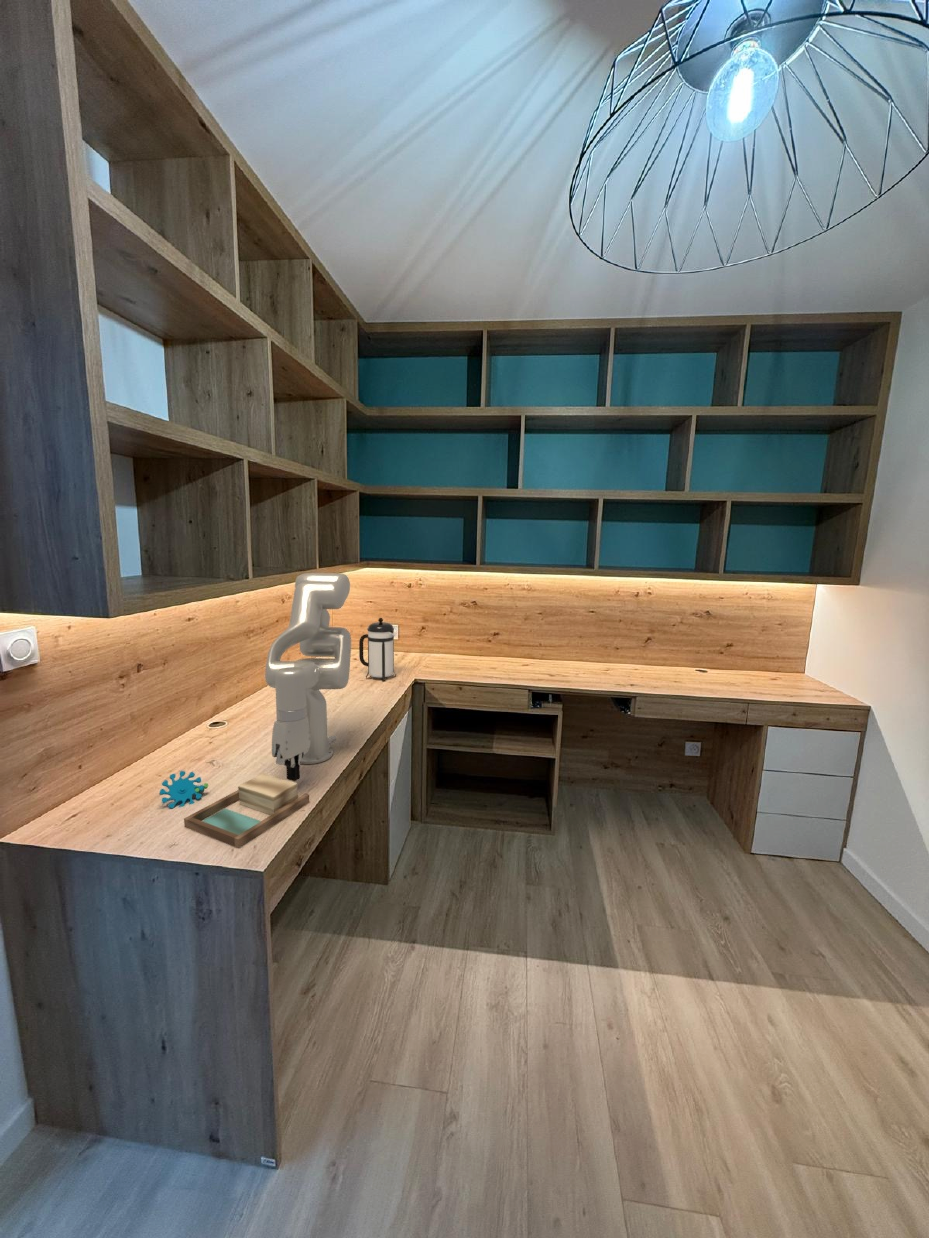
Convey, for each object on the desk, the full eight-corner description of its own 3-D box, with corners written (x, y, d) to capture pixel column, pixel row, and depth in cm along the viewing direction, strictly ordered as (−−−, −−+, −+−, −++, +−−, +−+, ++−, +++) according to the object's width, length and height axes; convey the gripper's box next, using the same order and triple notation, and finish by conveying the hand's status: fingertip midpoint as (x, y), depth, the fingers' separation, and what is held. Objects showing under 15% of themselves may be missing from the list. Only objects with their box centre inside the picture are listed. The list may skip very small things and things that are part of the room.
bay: (259, 789, 138) (258, 779, 138) (309, 805, 131) (309, 794, 130) (184, 830, 119) (183, 818, 118) (239, 851, 111) (238, 839, 111)
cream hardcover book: (264, 790, 136) (263, 772, 135) (298, 801, 131) (297, 783, 130) (239, 804, 129) (238, 785, 128) (274, 816, 124) (273, 797, 123)
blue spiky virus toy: (158, 810, 124) (160, 771, 129) (157, 818, 128) (159, 780, 133) (208, 804, 130) (208, 767, 135) (205, 812, 134) (206, 776, 139)
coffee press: (393, 672, 259) (393, 614, 254) (398, 681, 244) (398, 619, 239) (359, 674, 254) (358, 615, 249) (361, 683, 239) (361, 620, 234)
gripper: (301, 704, 143) (302, 766, 145) (258, 719, 129) (261, 787, 132) (321, 708, 139) (323, 771, 142) (280, 724, 126) (282, 793, 129)
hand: (293, 778), depth 137 cm, fingers closed
